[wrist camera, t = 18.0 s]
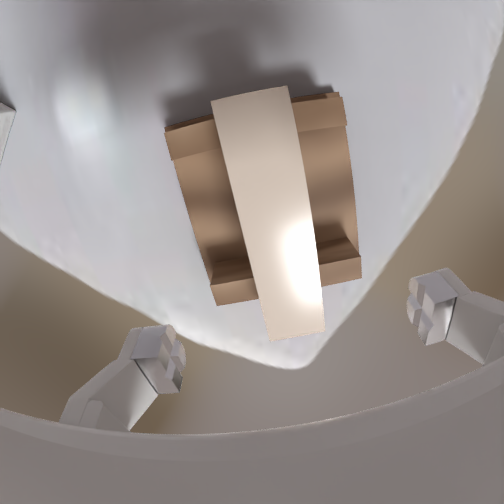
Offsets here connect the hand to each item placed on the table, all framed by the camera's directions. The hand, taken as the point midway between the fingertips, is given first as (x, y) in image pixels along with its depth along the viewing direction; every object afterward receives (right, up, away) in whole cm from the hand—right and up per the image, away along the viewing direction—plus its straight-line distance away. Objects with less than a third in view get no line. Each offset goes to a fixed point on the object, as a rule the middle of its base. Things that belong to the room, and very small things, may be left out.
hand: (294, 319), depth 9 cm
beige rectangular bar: (0, +5, +11) cm, 12 cm away
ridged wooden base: (0, +7, +16) cm, 17 cm away
